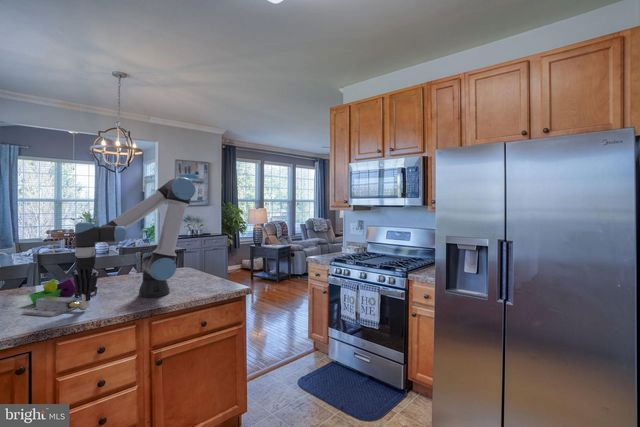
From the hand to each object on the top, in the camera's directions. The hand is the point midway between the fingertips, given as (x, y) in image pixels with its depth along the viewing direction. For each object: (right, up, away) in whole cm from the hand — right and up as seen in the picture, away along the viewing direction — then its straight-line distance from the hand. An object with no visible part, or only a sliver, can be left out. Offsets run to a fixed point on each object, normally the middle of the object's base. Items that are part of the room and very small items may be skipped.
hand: (85, 307), depth 150 cm
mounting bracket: (-34, -1, +26) cm, 43 cm away
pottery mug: (-18, -1, +25) cm, 31 cm away
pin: (-9, -1, +2) cm, 10 cm away
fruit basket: (-30, -1, +15) cm, 33 cm away
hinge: (-16, -2, +3) cm, 16 cm away
